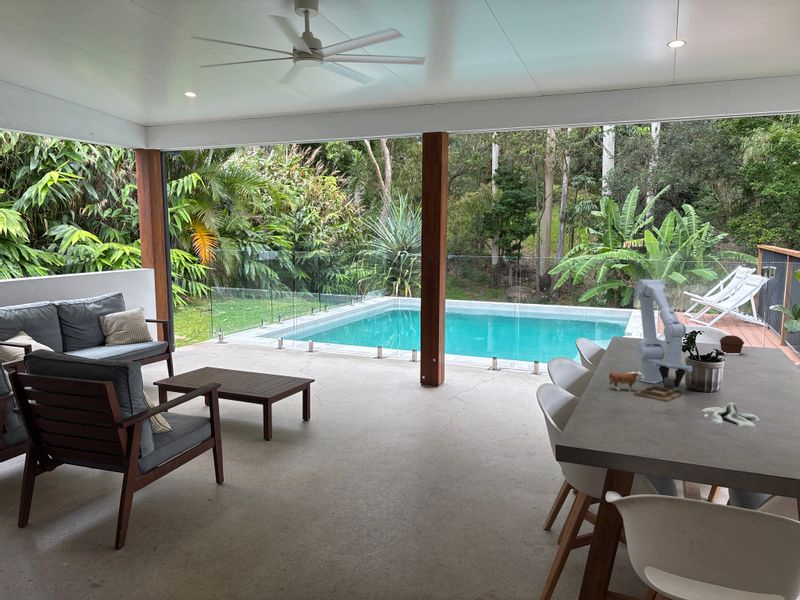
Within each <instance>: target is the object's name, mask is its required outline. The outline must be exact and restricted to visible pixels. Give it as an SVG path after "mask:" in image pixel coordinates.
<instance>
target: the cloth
mask: <svg viewBox="0 0 800 600" xmlns="http://www.w3.org/2000/svg"><path fill="white" fill-rule="evenodd" d="M702 411H704V412H703V413H705V414H704V416H705V417H707V416H709V415H710V413H712V414H711V418H712V419H713V420H712V419H711V420H712V422H714V421H715V422H714V423H716V422H718V423H723V424H724V421H727V420H728V421H727V422H731V421H732V422H731V423H733V422H734V424H735V423H736V424H735V425H737V424H738V425H739V426H738V425H737V426H738V427H741V426H749V427H748V428H756V427H755V426H757V425H756V424H755V423H754V422H755V421H760V418H759V417H758V416H757V415H755V414H753V413H739V409H738V406H737V403H735V402H729V403H727V404H726V405H725V406H724V407H719V406H714V407H706V408H704V409H702V410H701V412H702ZM707 412H709V413H707ZM705 417H704V418H705ZM723 419H724V420H723ZM751 420H754V421H751ZM718 423H717V424H718Z"/></svg>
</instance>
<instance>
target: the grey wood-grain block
mask: <svg viewBox="0 0 800 600" xmlns="http://www.w3.org/2000/svg"><path fill="white" fill-rule="evenodd" d="M675 383H676V376H674V375H668V376H667V377H664V383H663V388H667V389H672V390H674V392H677V391H678V390H679V388H680V386H679V387H678V388H676V387H675Z"/></svg>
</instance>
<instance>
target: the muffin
mask: <svg viewBox="0 0 800 600" xmlns="http://www.w3.org/2000/svg"><path fill="white" fill-rule="evenodd" d="M719 343H720V350H722V351H723V352H726V353H740V352H741V353H742V349H743V346H744V345H745V342H744V340H743V339H742V338H741V337H739V336H737V335H732V334H731V335H725V336H723V337H721V338H720V339H719Z"/></svg>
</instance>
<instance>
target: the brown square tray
mask: <svg viewBox="0 0 800 600" xmlns="http://www.w3.org/2000/svg"><path fill="white" fill-rule="evenodd" d="M633 395H634V396H636V397H641V398H647V399H652V400H657V401H661V402H666V403H668V402H670V401H672V400H676V398H679V397H682V393H679V392H676V391H674V390H672V389H667V388H664V387H660V386H656V385H649V386H647V387H644V388H642V389H639V390H638V391H636V392H634V393H633Z"/></svg>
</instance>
